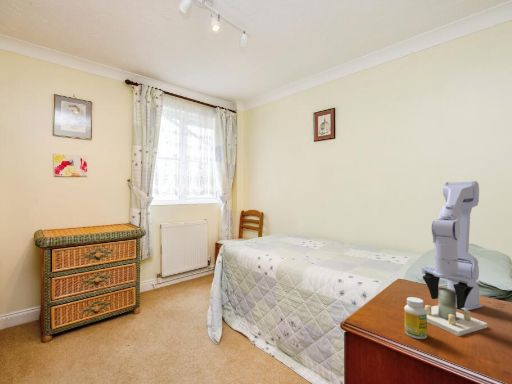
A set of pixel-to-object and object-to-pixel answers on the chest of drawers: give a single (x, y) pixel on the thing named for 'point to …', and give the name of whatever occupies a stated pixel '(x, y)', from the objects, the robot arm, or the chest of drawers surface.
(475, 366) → the chest of drawers surface
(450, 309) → the peg
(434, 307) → the base plate
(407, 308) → the supplement bottle
